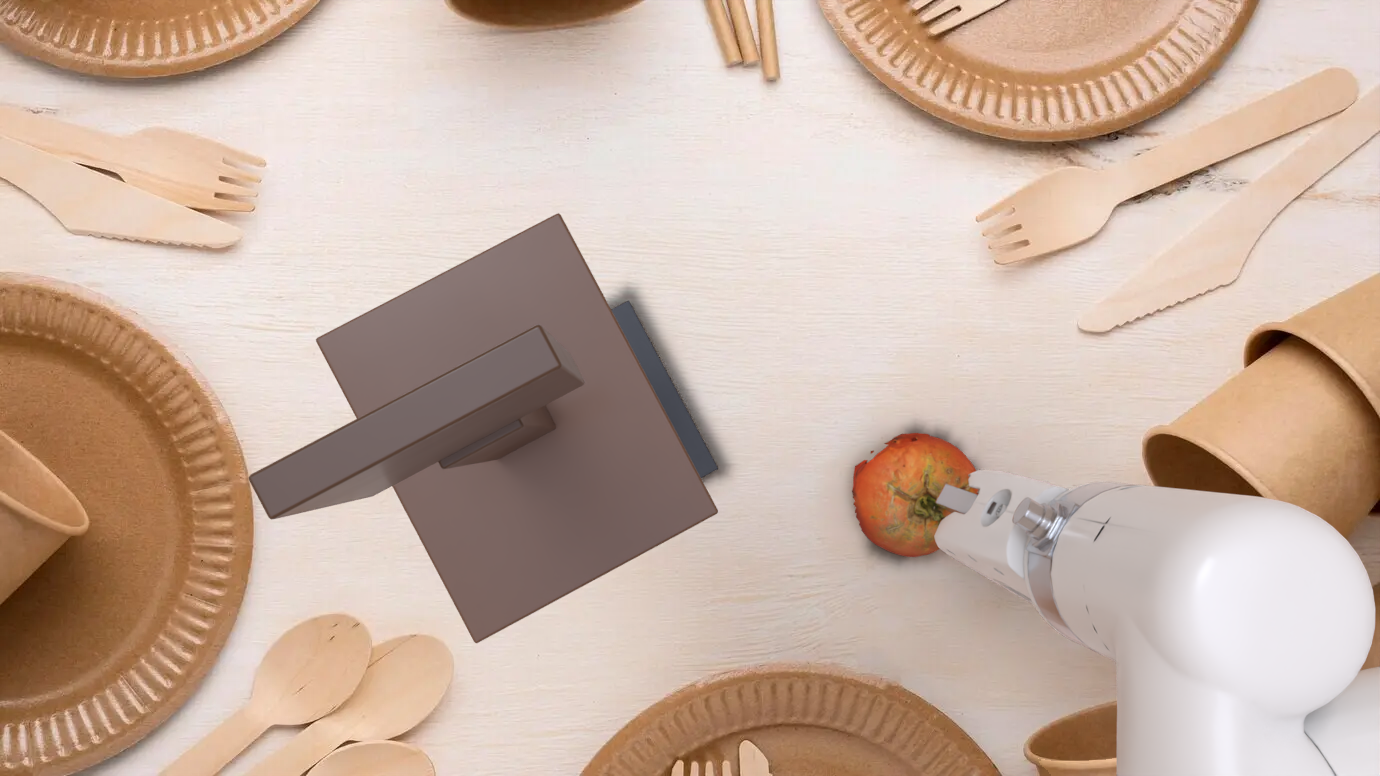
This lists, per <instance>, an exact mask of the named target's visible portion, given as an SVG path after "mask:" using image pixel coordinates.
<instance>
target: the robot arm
mask: <svg viewBox="0 0 1380 776" xmlns="http://www.w3.org/2000/svg"><path fill="white" fill-rule="evenodd" d="M968 476H969V479H968V482H969V486H970V487H972V488H975V489H979V490H978V492H977V493H978V495H977V494H974V493H971V492H968V491H965V490H963V489H960V488H957V487H954V486H951V485H948V484H945V485H944V487H943V488H942V490H941V492H940V494H939V496H938V497H937V499H936V501H935V503H936V504H938V505H939V506H941V507H942V508H944V509H946V510H947V511H949V512H951V514H950V515H948V516H946V517H945V518H944V519H943V520H942V521H941V522H940V524H939V526H938V528H937V531H936V533H935V535H934V538H935V541H936V544H937V546H938V547H939V548H940V549H939V550H941V551H942V552H943V553H945V554H946V555H947V556H949V557H950V558H953V559H954V560H956V561H957V562H959V563H960V564H963V565H964V566H966V567H968V568H969V569H971V570H972V571H974V572H976V573H978V574H979V575H981V576H983V577H985V578H986V579H988V580H990V581H991V582H993V583H995V584H996V585H998V586H999V587H1001V588H1003V589H1006V590H1007V591H1009V592H1010V593H1012V594H1014V595H1015V596H1017V597H1019V598H1020V599H1022V600H1024V601H1026V602H1028V603H1029V604H1031V605H1032V606H1034V608H1035V610H1036V611H1037V613H1038V614H1039V616H1040V617H1041V618H1042V620H1044V622H1046V624H1048V625H1049V626H1050V627H1051V628H1052V629H1053V630H1054V631H1055V632H1056V633H1058V634H1059V635H1061V636H1062V637H1064V638H1066V639H1067V640H1069V641H1071V642H1074V643H1076V644H1078V645H1080V646H1081V647H1084V648H1086V649H1088V650H1090V651H1092V652H1094V653H1096V654H1098V655H1100V656H1102V657H1104V658H1107V659H1109V660H1111V661H1113V662H1115V671H1116V672H1115V675H1116V676H1115V677H1116V679H1115V681H1116V755H1115V756H1116V757H1115V759H1116V765H1115V766H1116V767H1115V768H1116V772H1115V773H1116V774H1115V775H1116V776H1380V666H1374V667H1370V668H1366V669H1362V668H1363V665H1364V664H1365V662H1366V661H1367V657H1368V656H1369V653H1370V650H1371V648H1372V644H1373V640H1374V635H1375V630H1376V603H1375V594H1374V589H1373V586H1372V583H1371V580H1370V577H1369V576H1370V575H1369V574H1368V571H1367V569H1366V567H1365V565H1364V563H1363V561H1362V560H1361V558H1360V556H1359V554H1358V553H1357V551H1356V550H1355V549H1354V547H1353V546H1352V545H1351V544H1350V542H1349V541H1348V540H1347V539H1346V538H1345V537H1344V536H1343V535H1342V533H1340V532H1339V531H1338V530H1337V529H1336V528H1335V527H1334V526H1333V525H1332V524H1330V523H1328V522H1327V521H1326V520H1325V519H1324V518H1322V517H1320V516H1318V515H1317V514H1315V513H1313V512H1312V511H1309V510H1307V509H1305V508H1303V507H1301V506H1299V505H1297V504H1294V503H1292V502H1291V503H1290V502H1287V501H1283V500H1280V499H1273V498H1269V497H1265V496H1264V497H1263V496H1257V495H1256V496H1255V495H1247V494H1238V493H1237V494H1236V493H1227V492H1217V491H1206V490H1196V489H1188V488H1175V487H1167V486H1158V485H1156V486H1155V485H1146V484H1136V483H1127V482H1115V481H1093V482H1086V483H1083V484H1080V485H1076V486H1074V487H1070V488H1067V487H1064V486H1061V485H1056V484H1053V483H1051V482H1049V481H1046V480H1040V479H1036V478H1032V477H1028V476H1024V475H1020V474H1017V473H1012V472H1008V471H1002V470H997V469H979V470H976V471H975V472H972V473H970V474H969V475H968Z"/></svg>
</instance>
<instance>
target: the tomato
mask: <svg viewBox="0 0 1380 776" xmlns="http://www.w3.org/2000/svg"><path fill="white" fill-rule="evenodd" d="M883 444H884V445H887V446H886V447H884V448H883V449H882V450H880V451H879V452H878V453H877V454H876V455H875V456H874V457H873V458H872V459H870V460H868V459H864V460H862V461H861V462H859V463H857V464H856V465H854V467H853V468H854V469H853V477H852V489H851V493H852V498H853V500H854V501H853V506H854V508H855V509H854V514H855V518H856V519H857V521H858V522H859V523H858V524H859V527H860V529H861V532H862V533H863V535H864V536H865V537H866V538H867V539H868V540H869V541H870V542H871V543H873V544H874V545H876V546H877V547H879V548H881V549H883V550H884V551H887V552H889V553H892V554H894V555H898V556H902V557H905V558H906V557H908V558H918V557H922V556H927V555H930V554H933V553H935V552H937V551H940V550H941V549H940V548H939V547H938V546H937V544H936V541H935V538H934V535H935V533H936V531H937V528H938V526H939V524H940V522H941V521H942V520H943V519H944V518H945V517H946V516H948V515H950V514H951V512H949V511H947V510H946V509H944V508H942V507H941V506H939V505H938V504H936V503H935V501H936V499H937V497H938V496H939V494H940V492H941V490H942V488H943V487H944V485H945V484H948V485H951V486H954V487H957V488H960V489H963V490H965V491H968V492H971V493H974V494H977V495H978V493H977V492H978V490H979V489H975V488H972V487H970V486H969V482H968V479H969V476H968V475H969V474H970V473H972V472H975V471H977V469H976V468H975V466H974V464H973V463H972V461H971V460H970V459H969V458H968V457H967V456H966V454H965V453H964V452H963V451H962V450H960V448H959V447H957V446H955V445H954V444H952V443H951V442H949V441H947V440H946V439H943V438H940V437H937V436H936V437H935V436H932V435H930V434H928V433H921V432H920V433H919V432H910V433H901V434H898V435H896V436H894V437H893V438H892V439H890V440H889V441H886V442H884V443H883ZM873 453H875V450H870V454H873Z"/></svg>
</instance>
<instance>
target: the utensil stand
mask: <svg viewBox="0 0 1380 776" xmlns="http://www.w3.org/2000/svg"><path fill="white" fill-rule="evenodd" d="M315 342H316V344H317V346H318V348H319V350H320V351H321V354H322V356H323V357H324V359H325V362H326V363H327V365H328V367H329V369H330V371H331V372H332V374H333V377H334V378H335V380H336V382H337V384H338V386H339V388H340V390H341V392H342V393H343V395H344V397H345V399H346V401H347V403H348V406H349V407H350V409H351V410H352V412H353V414H354V416H355V418H356V419H353V420H352V421H350V422H348V423H345V424H344V425H341V426H340V427H338V428H337V429H334V430H333V431H331V432H329V433H327V434H325V435H323V436H321V437H319V438H317V439H315V440H314V441H312V442H310V443H308V444H306V445H304V446H302V447H301V448H298V449H297V450H295V451H293V452H291V453H289V454H287V455H285V456H283V457H281V458H279V459H277V460H275V461H274V462H272V463H270V464H268V465H266V466H263V467H262V468H260V469H258V470H256V471H255V472H253V473H251V474H250V475H249V476H248V481H249V483H250V485H251V487H252V489H253V490H254V492H255V495H256V496H257V498H258V500H259V502H260V504H261V505H262V508H263V510H264V512H265V514H266V516H267V517H268V519H270V520H277V519H281V518H285V517H286V518H287V517H290V516H294V515H298V514H304V513H306V512H311V511H315V510H320V509H326V508H329V507H332V506H338V505H341V504H346V503H349V502H350V503H351V502H355V501H359V500H364V499H369V498H372V497H375V496H376V495H378V494H380V493H382V492H384V491H386V490H388V489H390V488H391V487H392V489H393V490H394V492H395V495H396V496H397V498H398V500H399V502H400V504H401V506H402V507H403V509H404V511H405V513H406V515H407V517H408V519H409V521H410V523H411V525H412V527H413V528H414V530H415V532H416V534H417V536H418V538H419V540H420V542H421V544H422V546H423V548H424V550H425V551H426V553H427V555H428V557H429V559H430V561H431V563H432V565H433V567H434V568H435V570H436V572H437V574H438V576H439V578H440V580H441V582H442V583H443V585H444V588H445V590H446V591H447V593H448V595H449V597H450V599H451V601H452V603H453V604H454V606H455V609H456V611H457V612H458V614H459V616H460V618H461V620H462V622H463V624H464V625H465V627H466V629H467V631H468V633H469V635H470V637H471V639H472V641H473V642H474V643H475V644H479V643H480V642H483V641H485V640H487V639H488V638H490V637H492V636H494V635H495V634H497V633H499V632H500V631H503V630H505V629H507V628H508V627H510V626H512V625H514V624H516V623H517V622H520V621H521V620H523V619H525V618H527V617H529V616H531V615H532V614H534V613H536V612H539V611H540V610H541V609H544V608H545V607H547V606H549V605H551V604H553V603H554V602H557V601H558V600H560V599H562V598H564V597H566V596H567V595H569V594H572V593H573V592H575V591H577V590H579V589H581V588H583V587H584V586H586V585H588V584H590V583H592V582H593V581H595V580H597V579H599V578H601V577H602V576H605V575H606V574H608V573H610V572H612V571H614V570H616V569H618V568H619V567H622V566H624V565H625V564H627V563H630V562H631V561H632V560H634V559H636V558H638V557H640V556H641V555H644V554H645V553H647V552H649V551H651V550H653V549H655V548H657V547H658V546H661V545H662V544H664V543H665V542H667V541H670V540H671V539H673V538H675V537H677V536H679V535H681V534H682V533H684V532H687V531H688V530H690V529H692V528H694V527H695V526H697V525H699V524H701V523H703V522H704V521H706V520H708V519H710V518H712V517H714V516H716V515H717V514H718V513H719V510H718V507H717V506H716V503H715V502H714V500H713V498H712V497H711V494H710V492H709V491H708V489H707V486H706V484H705V483H704V481H703V478H704V477H706V476H708V475H710V474H712V473H713V472H715V471H717V470H718V469H719V467H718V465H717V463H716V461H715V459H714V457H713V455H712V454H711V452H710V450H709V448H708V446H707V444H706V443H705V441H704V438H703V437H702V434H701V433H700V431H699V429H698V427H697V426H696V423H695V421H694V419H693V418H692V416H691V414H690V412H689V411H688V408H687V407H686V405H685V403H684V401H683V400H682V397H681V395H680V394H679V392H678V390H677V388H676V386H675V385H674V381H672V379H671V377H670V375H669V373H668V371H667V369H666V367H665V366H664V365H665V364H664V363H663V362H662V359H661V358H660V356H659V354H658V352H657V350H656V348H655V347H654V344H653V343H652V341H651V339H650V337H649V336H648V333H647V331H646V330H645V328H644V326H643V324H642V322H641V320H640V318H639V316H638V315H637V313H636V311H635V309H634V307H633V306H632V303H631V302H630V300H626V301H624V302H622V303H620V304H618V305H617V306H614V307H613V308H611V306H610V304H609V303H608V300H607V299H606V297H605V295H604V293H603V292H602V290H601V288H600V286H599V284H598V282H597V280H596V278H595V276H594V274H593V273H592V270H591V268H590V267H589V265H588V264H587V262H586V260H585V258H584V256H583V254H582V252H581V250H580V248H579V246H578V244H577V242H576V241H575V239H574V237H573V235H572V233H571V231H570V229H569V228H568V226H567V223H566V222H565V220H564V218H563V216H562V214H560V213H559V212H558V213H555V214H553V215H551V216H549V217H548V218H545V219H544V220H542V221H540V222H538V223H536V224H534V225H532V226H529V227H528V228H526V229H525V230H522V231H520V232H519V233H517V234H515V235H513V236H511V237H509V238H507V239H504V240H503V241H501V242H499V243H498V244H495V245H493V246H491V247H490V248H488V249H486V250H483V251H482V252H480V253H478V254H476V255H474V256H473V257H470V258H468V259H467V260H466V259H465V260H464V261H463V262H460V263H459V264H457V265H455V266H452V267H451V268H449V269H447V270H445V271H443V272H441V273H440V274H438V275H436V276H434V277H432V278H429V279H428V280H426V281H424V282H421V283H420V284H418V285H416V286H414V287H412V288H411V289H409V290H406V291H404V292H403V293H401V294H399V295H397V296H395V297H392V298H391V299H390V300H388V301H386V302H384V303H382V304H380V305H377V306H376V307H374V308H372V309H369V310H368V311H366V312H363V313H362V314H359V316H356V317H355V318H353V319H351V320H348V321H347V322H345V323H342V324H341V325H339V326H336V327H335V328H333V329H331V330H330V331H328V332H325V333H324V334H322V335H319V336H318V337H316V339H315Z"/></svg>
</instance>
